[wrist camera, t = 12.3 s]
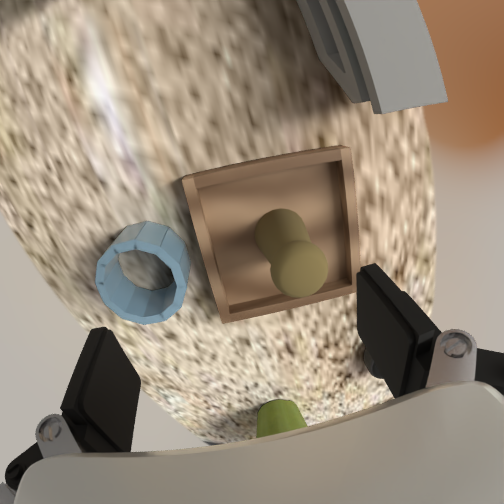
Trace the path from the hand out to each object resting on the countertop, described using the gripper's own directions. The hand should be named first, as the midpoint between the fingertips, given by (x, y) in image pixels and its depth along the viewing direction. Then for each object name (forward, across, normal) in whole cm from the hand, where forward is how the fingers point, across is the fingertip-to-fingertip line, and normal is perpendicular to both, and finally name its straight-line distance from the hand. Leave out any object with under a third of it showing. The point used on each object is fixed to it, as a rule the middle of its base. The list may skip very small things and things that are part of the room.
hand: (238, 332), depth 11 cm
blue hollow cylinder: (+25, +11, +8) cm, 29 cm away
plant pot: (+24, 0, +41) cm, 47 cm away
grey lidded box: (+26, -17, -18) cm, 36 cm away
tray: (+25, -5, +8) cm, 27 cm away
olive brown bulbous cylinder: (+24, -5, +8) cm, 26 cm away
